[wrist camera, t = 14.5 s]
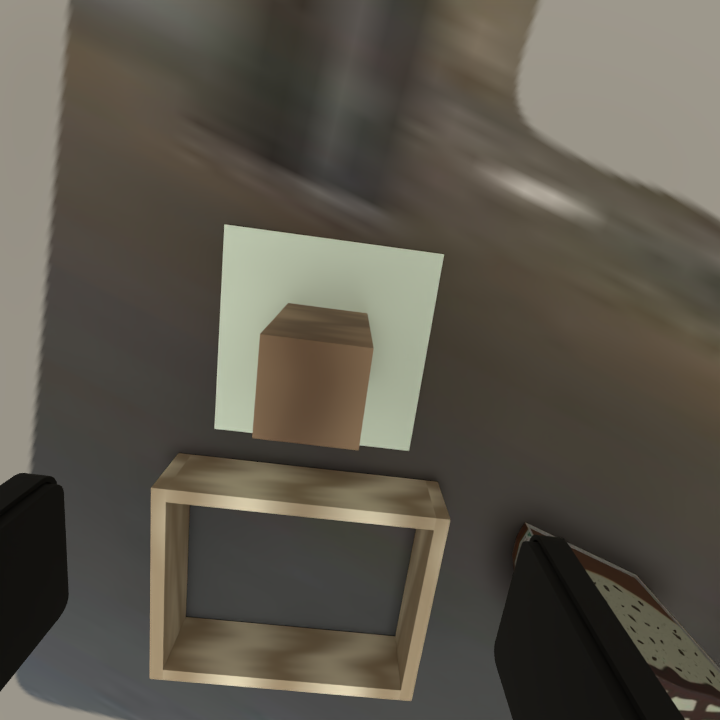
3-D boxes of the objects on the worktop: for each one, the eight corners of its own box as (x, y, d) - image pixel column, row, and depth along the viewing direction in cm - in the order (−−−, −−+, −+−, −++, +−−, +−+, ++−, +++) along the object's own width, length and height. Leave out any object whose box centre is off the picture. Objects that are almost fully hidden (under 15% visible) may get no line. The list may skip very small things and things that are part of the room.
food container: (458, 581, 31) (504, 736, 22) (506, 513, 30) (578, 646, 20) (601, 644, 33) (703, 813, 23) (653, 582, 32) (784, 736, 22)
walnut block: (367, 313, 26) (373, 348, 18) (356, 387, 27) (358, 450, 19) (288, 302, 25) (259, 333, 18) (281, 378, 27) (252, 438, 19)
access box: (437, 481, 29) (450, 519, 25) (404, 645, 33) (411, 701, 29) (178, 453, 28) (151, 487, 24) (174, 624, 32) (149, 678, 28)
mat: (442, 253, 25) (444, 254, 25) (408, 447, 28) (408, 450, 28) (226, 224, 25) (224, 224, 24) (217, 425, 28) (214, 428, 27)
